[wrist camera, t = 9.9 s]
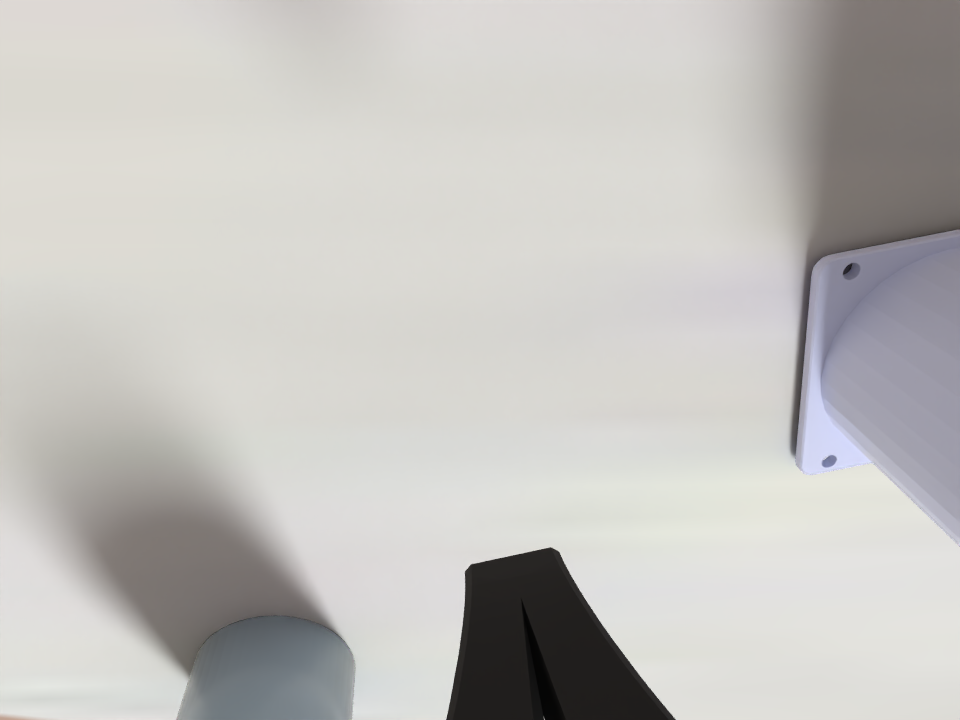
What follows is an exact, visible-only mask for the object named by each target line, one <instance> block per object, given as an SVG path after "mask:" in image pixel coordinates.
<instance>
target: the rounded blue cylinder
mask: <svg viewBox="0 0 960 720" xmlns="http://www.w3.org/2000/svg"><path fill="white" fill-rule="evenodd" d="M354 682H355V660H354V657H353V654H352V652H351V650H350V648H349V647H348V646H347V644H346V643H345V642H344V641H343V640H342V639H341V638H340V637H339V636H338V635H337V634H335V633H334V632H333V631H331V630H329V629H327V628H326V627H324V626H322V625H319V624H317V623H315V622H311V621H308V620H305V619H300V618H295V617H288V616H261V617H255V618H249V619H245V620H241V621H238V622H235V623H233V624H230V625H228V626H226V627H224V628H222V629H220V630H219V631H217V632H216V633H214V634H213V635H212V636H211V637H209V638H208V639H207V640H206V641H205V642H204V644H203V645H202V646H201V648H200V649H199V651H198V653H197V656H196V658H195V661H194V664H193V668H192V671H191V674H190V677H189V680H188V684H187V687H186V690H185V693H184V696H183V700H182V703H181V706H180V709H179V712H178V715H177V719H176V720H352V712H353V697H354Z"/></svg>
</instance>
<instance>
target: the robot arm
mask: <svg viewBox="0 0 960 720" xmlns="http://www.w3.org/2000/svg"><path fill="white" fill-rule="evenodd" d="M851 263H852V268H851V270H850V271H849V272H848V273H847V274H844V275H843V271H844V269H845V268H846V267H847V266H848V265H849V264H851ZM827 456H829V457H827ZM825 457H827V458H826V459H825V460H823V459H824V458H825ZM795 462H796V466H797V467H798V468H799V469H800V470H801V471H802V472H803V474H806V475H814V474H819V473H824V472H829V471H834V470H839V469H844V468H849V467H854V466H859V465H864V464H869V463H873V464H874V465H875V466H876V467H877V468H878V469H880V470H881V471H882V472H883V473H884V474H885V475H886V476H887V477H888V478H889V479H890V480H891V481H892V482H893V483H894V484H895V485H896V486H897V487H898V488H899V489H900V490H901V491H902V492H903V493H905V494H906V495H907V496H908V497H909V498H910V499H911V500H912V501H913V502H914V503H915V504H916V505H917V506H918V507H919V508H920V509H921V510H922V511H923V512H924V513H925V514H926V515H927V516H928V517H930V518H931V519H932V520H933V521H934V522H935V523H936V524H937V525H938V526H939V527H940V528H941V529H942V530H943V531H944V532H945V533H946V534H947V535H948V536H949V537H950V538H951V539H952V540H953V541H955V542H956V543H957V544H958V545H959V546H960V229H958V230H953V231H948V232H943V233H938V234H933V235H928V236H923V237H917V238H912V239H907V240H902V241H897V242H892V243H887V244H882V245H877V246H872V247H866V248H861V249H856V250H851V251H846V252H841V253H836V254H831V255H828V256H825V257H823V258H822V259H820V260H819V261H818V262H817V263H816V265H815V266H814V267H813V271H812V275H811V287H810V298H809V310H808V321H807V333H806V345H805V356H804V368H803V379H802V391H801V402H800V414H799V425H798V437H797V448H796V460H795ZM543 715H544V716H543ZM544 719H545V720H675V718H674V717H673V716H672V715H671V714H670V712H669V711H668V710H667V709H666V708H665V706H664V705H663V704H662V703H661V702H660V700H659V699H658V698H657V697H656V696H655V694H654V693H653V692H652V691H651V689H650V688H649V687H648V686H647V684H646V683H645V682H644V681H643V679H642V678H641V677H640V675H639V674H638V673H637V671H636V670H635V669H634V667H633V666H632V665H631V663H630V662H629V661H628V659H627V658H626V657H625V655H624V654H623V653H622V651H621V650H620V649H619V647H618V646H617V645H616V643H615V642H614V641H613V639H612V638H611V637H610V635H609V634H608V632H607V631H606V630H605V628H604V627H603V625H602V624H601V622H600V621H599V620H598V618H597V616H596V615H595V613H594V612H593V610H592V609H591V607H590V606H589V604H588V603H587V601H586V600H585V598H584V597H583V595H582V593H581V592H580V590H579V588H578V587H577V585H576V583H575V582H574V580H573V578H572V577H571V575H570V573H569V571H568V569H567V567H566V565H565V564H564V562H563V559H562V557H561V555H560V553H559V551H557V550H555V549H553V548H546V549H541V550H537V551H532V552H527V553H523V554H518V555H513V556H509V557H504V558H499V559H495V560H490V561H485V562H481V563H476V564H471V565H470V567H469V568H468V569H467V570H466V571H465V607H464V618H463V627H462V635H461V642H460V650H459V656H458V661H457V667H456V672H455V678H454V683H453V689H452V694H451V700H450V705H449V710H448V714H447V719H446V720H544Z"/></svg>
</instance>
